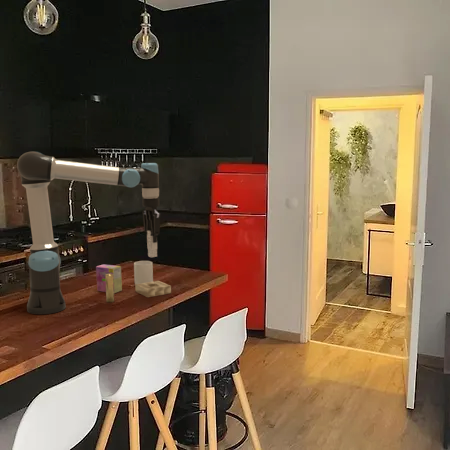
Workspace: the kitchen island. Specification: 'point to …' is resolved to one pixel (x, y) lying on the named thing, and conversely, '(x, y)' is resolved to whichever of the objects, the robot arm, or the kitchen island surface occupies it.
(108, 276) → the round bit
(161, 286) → the socket block
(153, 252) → the square bit
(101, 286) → the box
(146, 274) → the mug
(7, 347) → the kitchen island surface
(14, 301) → the kitchen island surface
